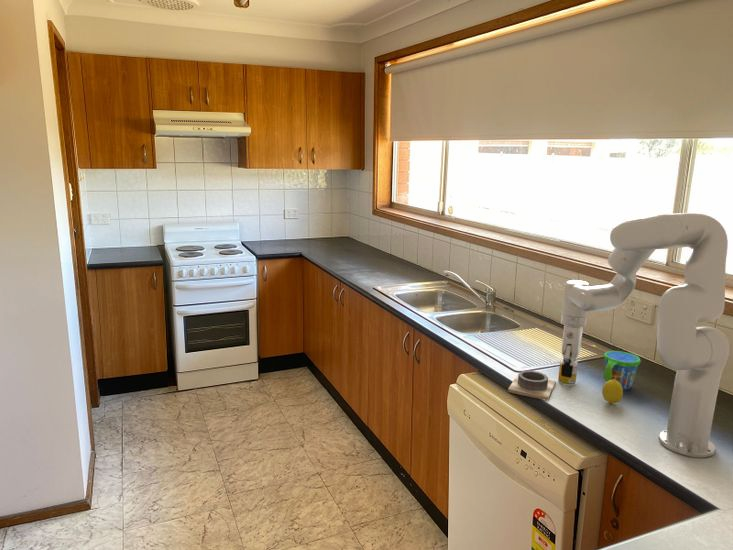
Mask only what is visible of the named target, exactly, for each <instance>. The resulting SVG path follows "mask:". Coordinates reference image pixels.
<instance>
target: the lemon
mask: <svg viewBox="0 0 733 550" xmlns="http://www.w3.org/2000/svg"><path fill="white" fill-rule="evenodd" d="M601 392H602V397H603V399H604V400H605V402H607V403H608V404H609V405H614V404H618V403H619V402H620V401H621V400H622V399H623V394H624V390H623V388H622V385H621V384H620V383H619V382H618V381H616V380H615V379H613V380H609V381H607V382H606V381H605V383H604V384H603V387H602V391H601Z"/></svg>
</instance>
